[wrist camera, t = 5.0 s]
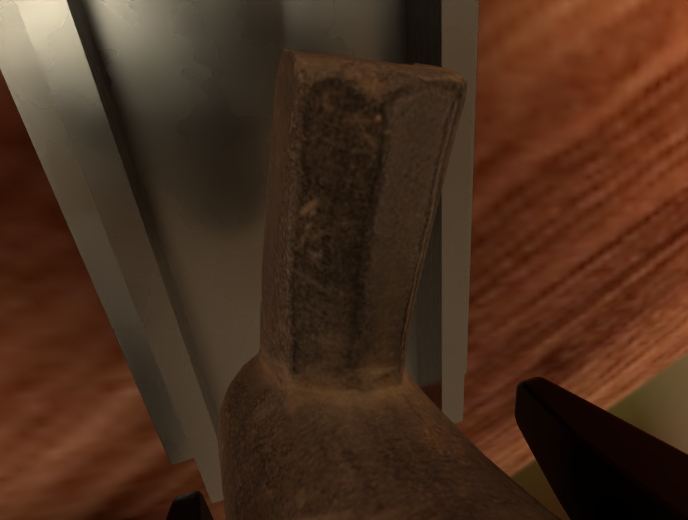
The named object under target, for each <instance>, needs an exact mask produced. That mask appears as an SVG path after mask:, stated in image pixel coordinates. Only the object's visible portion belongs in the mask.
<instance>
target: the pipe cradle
mask: <svg viewBox="0 0 688 520" xmlns="http://www.w3.org/2000/svg"><path fill="white" fill-rule="evenodd" d="M478 16H479V0H0V69H1V71H2V74H3V76H4V78H5V81H6V83H7V85H8V88H9V90H10V92H11V95H12V97H13V99H14V102H15V104H16V106H17V108H18V111H19V113H20V115H21V118H22V120H23V122H24V125H25V127H26V129H27V132H28V134H29V136H30V139H31V141H32V143H33V146H34V148H35V150H36V152H37V155H38V157H39V159H40V162H41V164H42V166H43V169H44V171H45V173H46V176H47V178H48V180H49V183H50V185H51V187H52V190H53V192H54V194H55V196H56V199H57V201H58V203H59V206H60V208H61V210H62V213H63V215H64V217H65V220H66V222H67V224H68V227H69V229H70V231H71V234H72V236H73V238H74V240H75V243H76V245H77V247H78V250H79V252H80V254H81V257H82V259H83V261H84V264H85V266H86V268H87V271H88V273H89V275H90V278H91V280H92V282H93V284H94V287H95V289H96V291H97V294H98V296H99V298H100V301H101V303H102V305H103V308H104V310H105V312H106V315H107V317H108V319H109V322H110V324H111V326H112V328H113V331H114V333H115V335H116V338H117V340H118V342H119V345H120V347H121V349H122V352H123V354H124V356H125V359H126V361H127V363H128V366H129V368H130V370H131V373H132V375H133V377H134V379H135V382H136V384H137V386H138V389H139V391H140V393H141V396H142V398H143V400H144V403H145V405H146V407H147V410H148V412H149V414H150V417H151V419H152V421H153V423H154V426H155V428H156V430H157V433H158V435H159V437H160V440H161V442H162V444H163V447H164V449H165V451H166V454H167V456H168V458H169V461H170V463H171V465H173V464H176V463H179V462H183V461H186V460H189V459H192V458H194V459H195V461H196V464H197V467H198V469H199V472H200V474H201V477H202V479H203V482H204V484H205V487H206V490H207V492H208V495H209V497H210V500H211V502H212V504H213V503H216V502H219V501H222V500H224V498H223V489H222V479H221V468H220V460H219V452H218V443H217V432H218V424H219V417H220V409H221V405H222V403H223V400H224V397H225V394H226V392H227V389H228V387H229V385H230V383H231V381H232V380H233V379H234V377H235V376H236V374H237V373H238V372H239V370H240V369H241V368H242V367H243V365H244V364H246V363H247V362H248V361H249V360H251V359H252V358H253V357H254V356H255V355H257V354H258V351H259V349H260V305H261V300H262V287H261V275H262V258H263V244H264V228H265V210H266V192H267V179H268V168H269V157H270V145H271V133H272V120H273V108H274V96H275V85H276V78H277V72H278V67H279V62H280V56H281V51H282V50H285V49H287V50H300V51H306V52H312V53H319V54H328V55H339V56H352V57H356V58H360V59H368V60H377V61H384V62H389V63H397V64H410V63H419V64H425V65H432V66H438V67H443V68H447V69H450V70H453V71H456V72H457V73H459V74H460V75H462V76H463V77H464V78H465V79H466V80H467V82H468V83H467V91H466V99H465V103H464V107H463V111H462V115H461V118H460V122H459V125H458V129H457V132H456V136H455V139H454V143H453V147H452V151H451V155H450V159H449V163H448V167H447V171H446V175H445V179H444V183H443V187H442V191H441V195H440V199H439V203H438V207H437V211H436V214H435V218H434V223H433V227H432V231H431V235H430V239H429V244H428V248H427V252H426V256H425V261H424V265H423V269H422V273H421V277H420V281H419V286H418V290H417V295H416V300H415V305H414V311H413V316H412V322H411V328H410V335H409V341H408V347H407V355H406V362H405V368H406V370H407V372H408V373H409V375H410V376H411V378H412V379H413V381H414V382H415V383H416V384H417V385H418V386H419V387H420V389H421V390H422V391H423V392H424V393H425V394H426V395H427V396H428V398H429V399H430V400H431V401H432V402H433V403H434V404H435V405H436V406H437V407H438V408H439V409H440V410H441V411H442V412H443V413H444V414H445V415H446V416H447V417H448V418H449V419H450V420H451V421H452V422H453V423H454V424H455V423H458V422H461V421H463V400H464V374H465V373H467V345H468V315H469V285H470V255H471V225H472V196H473V166H474V136H475V106H476V76H477V46H478Z"/></svg>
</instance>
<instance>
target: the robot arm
mask: <svg viewBox="0 0 688 520" xmlns="http://www.w3.org/2000/svg"><path fill="white" fill-rule="evenodd" d="M515 418H516V422H517V424H518V427H519V429H520V430H521V432H522V434H523V436H524V438H525V440H526V442H527V443H528V445H529V447H530V449H531V451H532V453H533V455H534V457H535V458H536V460H537V462H538V464H539V466H540V467H541V470H542V471H543V473H544V475H545V477H546V479H547V481H548V483H549V484H550V486H551V488H552V490H553V492H554V494H555V495H556V497H557V499H558V501H559V502H560V504H561V505H562V507H563V509H564V510H565V512H566V513H567V515H568V517H569V518H570V520H688V454H686V453H684V452H682V451H680V450H679V449H677V448H675V447H673V446H671V445H669V444H667V443H665V442H664V441H662V440H660V439H658V438H656V437H654V436H652V435H650V434H649V433H647V432H645V431H643V430H641V429H639V428H637V427H635V426H633V425H632V424H629V423H628V422H626V421H624V420H622V419H620V418H618V417H616V416H614V415H613V414H611V413H609V412H607V411H605V410H603V409H601V408H600V407H598V406H596V405H594V404H592V403H590V402H588V401H586V400H584V399H583V398H581V397H579V396H577V395H575V394H573V393H571V392H569V391H568V390H566V389H564V388H562V387H560V386H558V385H556V384H554V383H552V382H551V381H549V380H547V379H545V378H542V377H534V378H531V379H528V380H525V381H522V382H520V383H519V384H518V386H517V391H516V403H515ZM166 520H213V517H212V515H211V513H210V510H209V508H208V506H207V504H206V501H205V499H204V497H203V495H202V493H201V492H200V491H194V492H191V493H188V494H185V495H182V496H179V497H177V498H175V499H174V501H173V502H172V504H171V507H170V509H169V512H168V515H167V518H166Z"/></svg>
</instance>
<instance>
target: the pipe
mask: <svg viewBox="0 0 688 520" xmlns="http://www.w3.org/2000/svg"><path fill="white" fill-rule="evenodd" d="M467 83H468V82H467V80H466V79H465V78H464V77H463V76H462V75H460V74H459V73H457V72H456V71H453V70H450V69H447V68H443V67H438V66H432V65H425V64H419V63H410V64H397V63H389V62H384V61H377V60H368V59H360V58H356V57H352V56H339V55H328V54H319V53H312V52H306V51H300V50H287V49H285V50H282V51H281V56H280V62H279V67H278V72H277V78H276V85H275V96H274V108H273V120H272V133H271V145H270V157H269V168H268V179H267V192H266V210H265V228H264V244H263V258H262V275H261V287H262V300H261V305H260V349H259V351H258V354H257V355H255V356H254V357H253V358H252V359H251V360H249V361H248V362H247V363H246V364H244V365H243V367H242V368H241V369H240V370H239V372H238V373H237V374H236V376H235V377H234V379H233V380H232V381H231V383H230V385H229V387H228V389H227V392H226V394H225V397H224V400H223V403H222V405H221V409H220V417H219V424H218V432H217V443H218V452H219V460H220V468H221V479H222V489H223V498H224V506H225V514H226V520H561V519H560V518H559V517H557V516H556V515H555V514H553V513H552V512H551V511H549V510H548V509H547V508H546V507H544V506H543V505H542V504H541V503H540V502H539V501H537V500H536V499H535V498H534V497H532V496H531V495H530V494H529V493H528V492H527V491H525V490H524V489H523V488H522V487H521V486H519V485H518V484H517V483H516V482H515V481H514V480H513V479H511V478H510V477H509V476H508V475H507V474H506V473H504V472H503V471H502V470H501V469H500V468H499V467H498V466H496V465H495V464H494V463H493V462H492V461H491V460H490V459H488V458H487V457H486V456H485V455H484V454H483V453H482V452H481V451H480V450H479V449H478V448H477V447H476V446H475V445H474V444H473V443H472V442H471V441H470V440H469V439H468V438H467V437H466V436H465V435H464V434H463V433H462V432H461V431H460V430H459V429H458V428H457V427H456V425H455V424H454V423H453V422H452V421H451V420H450V419H449V418H448V417H447V416H446V415H445V414H444V413H443V412H442V411H441V410H440V409H439V408H438V407H437V406H436V405H435V404H434V403H433V402H432V401H431V400H430V399H429V398H428V396H427V395H426V394H425V393H424V392H423V391H422V390H421V389H420V387H419V386H418V385H417V384H416V383H415V382H414V381H413V379H412V378H411V376H410V375H409V373H408V372H407V370H406V368H405V362H406V355H407V347H408V341H409V335H410V328H411V322H412V316H413V311H414V305H415V300H416V295H417V290H418V286H419V281H420V277H421V273H422V269H423V265H424V261H425V256H426V252H427V248H428V244H429V239H430V235H431V231H432V227H433V223H434V218H435V214H436V211H437V207H438V203H439V199H440V195H441V191H442V187H443V183H444V179H445V175H446V171H447V167H448V163H449V159H450V155H451V151H452V147H453V143H454V139H455V136H456V132H457V129H458V125H459V122H460V118H461V115H462V111H463V107H464V103H465V99H466V91H467Z"/></svg>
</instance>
